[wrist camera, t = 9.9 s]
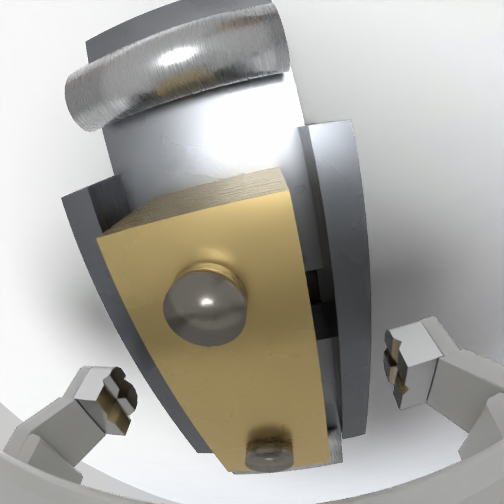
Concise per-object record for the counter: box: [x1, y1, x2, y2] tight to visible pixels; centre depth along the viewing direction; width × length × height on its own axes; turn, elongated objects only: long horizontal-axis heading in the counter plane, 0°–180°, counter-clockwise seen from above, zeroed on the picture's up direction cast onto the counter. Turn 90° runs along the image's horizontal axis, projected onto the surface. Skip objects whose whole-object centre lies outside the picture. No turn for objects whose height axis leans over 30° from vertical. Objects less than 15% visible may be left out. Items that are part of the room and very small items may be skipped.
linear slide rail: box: [61, 0, 371, 474], centre depth 11 cm, size 8×22×4 cm, turn 13°
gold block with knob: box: [96, 167, 330, 473], centre depth 9 cm, size 4×10×4 cm, turn 13°
